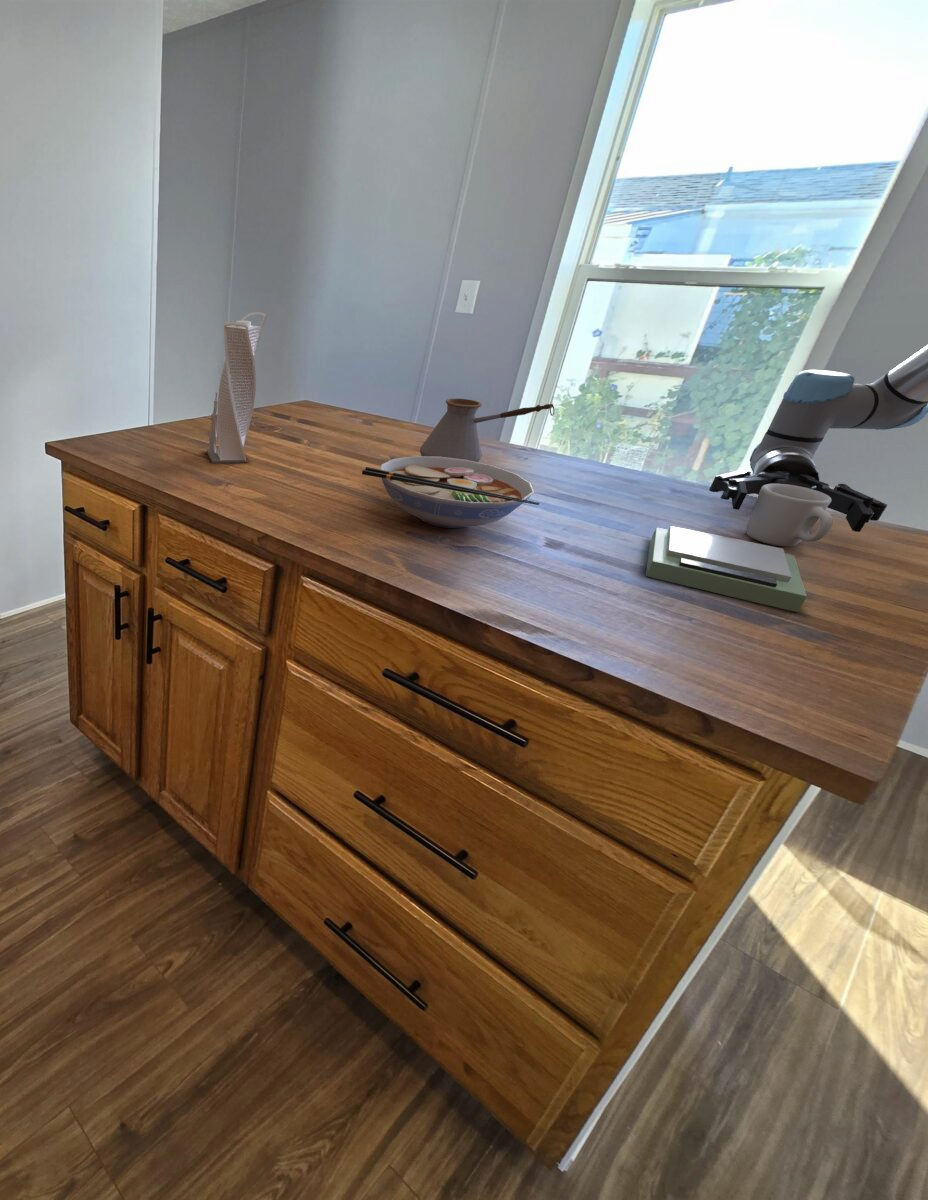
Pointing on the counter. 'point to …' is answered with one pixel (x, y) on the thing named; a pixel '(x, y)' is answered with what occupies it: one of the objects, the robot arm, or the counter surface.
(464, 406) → the coffee pot
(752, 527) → the cup
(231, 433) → the skyscraper
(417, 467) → the ramen bowl
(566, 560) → the counter surface
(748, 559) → the scale
